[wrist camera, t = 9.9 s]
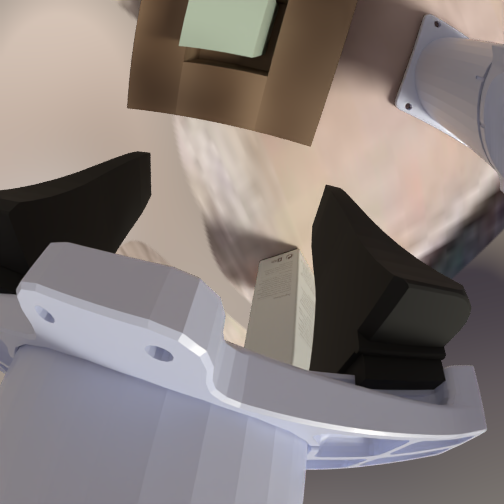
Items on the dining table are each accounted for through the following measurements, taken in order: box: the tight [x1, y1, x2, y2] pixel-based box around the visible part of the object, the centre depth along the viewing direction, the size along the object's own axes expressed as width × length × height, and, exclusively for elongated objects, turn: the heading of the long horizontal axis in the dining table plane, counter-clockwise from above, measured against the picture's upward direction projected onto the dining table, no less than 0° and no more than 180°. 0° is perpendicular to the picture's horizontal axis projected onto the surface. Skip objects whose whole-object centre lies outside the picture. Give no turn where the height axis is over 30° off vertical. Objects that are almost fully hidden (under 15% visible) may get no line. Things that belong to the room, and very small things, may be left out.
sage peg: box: [179, 0, 279, 58], centre depth 12 cm, size 4×4×6 cm
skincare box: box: [244, 249, 316, 370], centre depth 24 cm, size 6×4×12 cm
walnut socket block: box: [127, 0, 358, 147], centre depth 14 cm, size 12×12×4 cm
